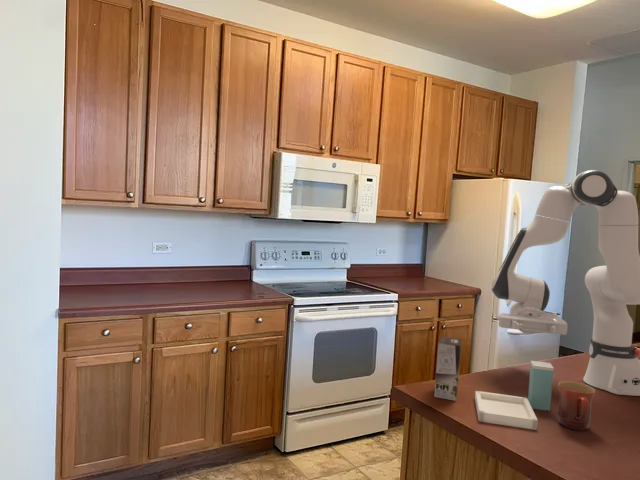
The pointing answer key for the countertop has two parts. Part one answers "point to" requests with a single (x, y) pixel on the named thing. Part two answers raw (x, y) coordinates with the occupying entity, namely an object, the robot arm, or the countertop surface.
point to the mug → (575, 404)
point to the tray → (505, 410)
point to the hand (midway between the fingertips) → (536, 329)
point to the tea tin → (540, 385)
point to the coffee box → (447, 368)
